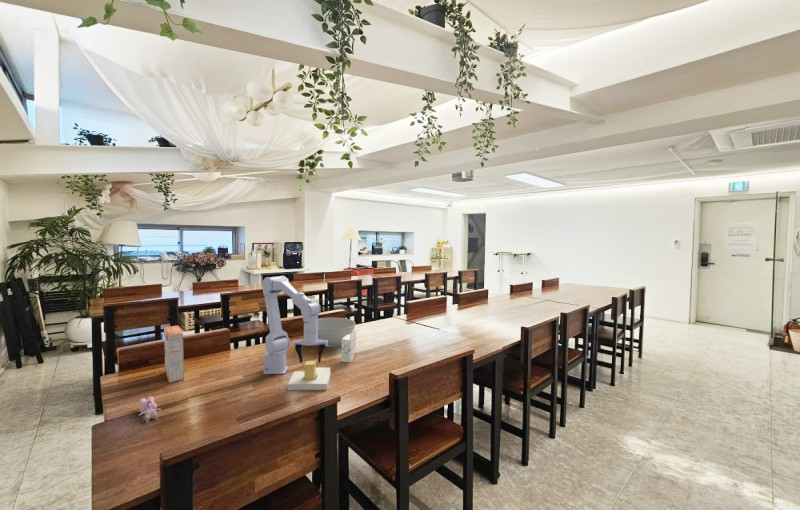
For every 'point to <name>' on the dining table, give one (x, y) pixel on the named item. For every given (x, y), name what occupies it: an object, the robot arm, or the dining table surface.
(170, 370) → the cracker box
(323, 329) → the decorative bowl
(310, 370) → the block
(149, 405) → the pink toy figurine
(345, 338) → the ink cartridge box
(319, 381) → the holder
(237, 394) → the dining table surface
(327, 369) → the mat
